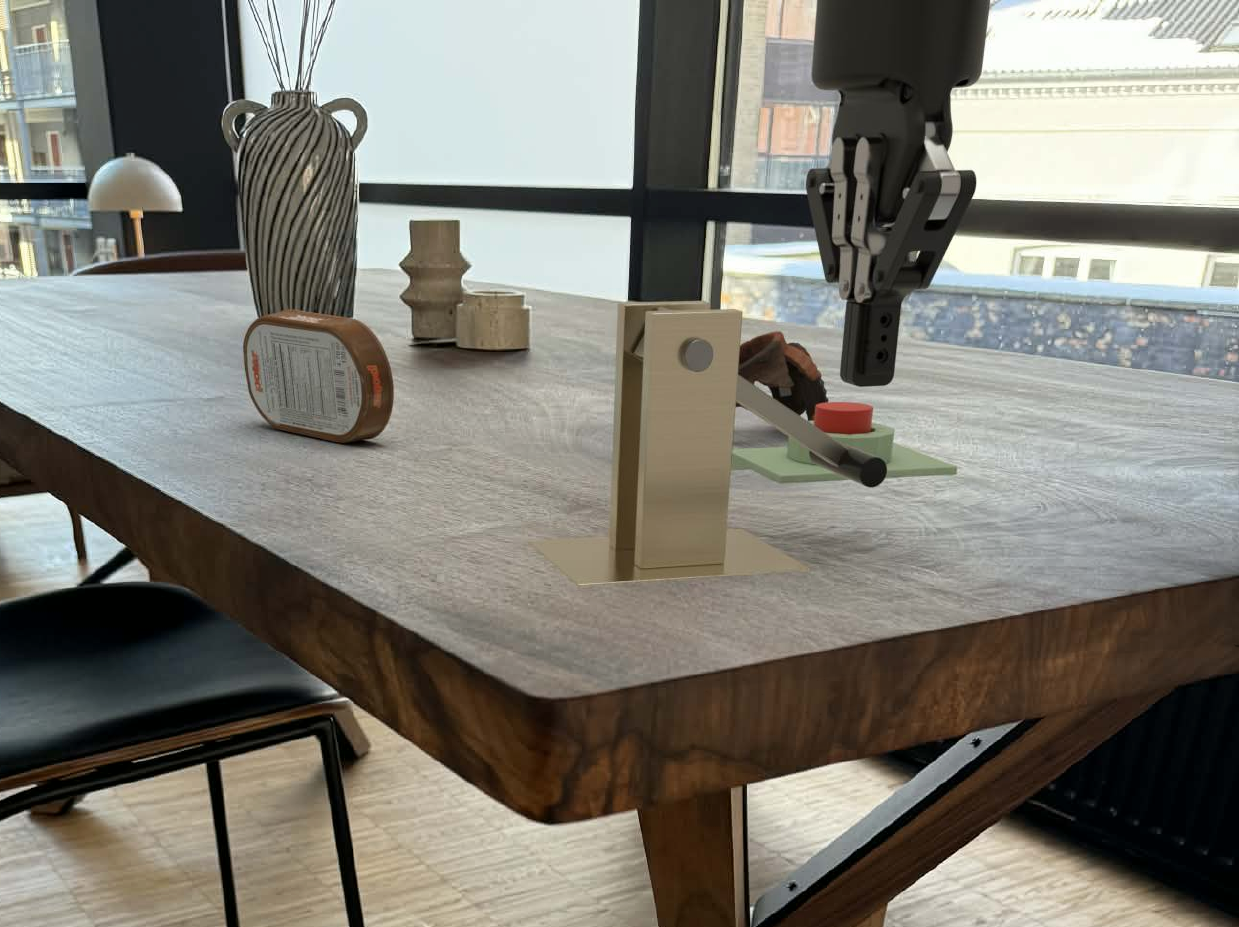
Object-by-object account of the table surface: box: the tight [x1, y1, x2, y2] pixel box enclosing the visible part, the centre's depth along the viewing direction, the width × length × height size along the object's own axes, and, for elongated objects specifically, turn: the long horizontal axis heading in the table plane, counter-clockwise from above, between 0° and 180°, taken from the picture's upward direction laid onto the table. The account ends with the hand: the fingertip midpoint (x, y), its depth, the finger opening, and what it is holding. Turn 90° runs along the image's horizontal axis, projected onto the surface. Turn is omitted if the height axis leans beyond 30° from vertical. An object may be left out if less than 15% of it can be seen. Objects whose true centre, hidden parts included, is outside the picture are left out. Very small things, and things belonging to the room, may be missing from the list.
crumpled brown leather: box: [736, 330, 830, 421], centre depth 113 cm, size 12×10×8 cm
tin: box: [242, 308, 395, 444], centre depth 111 cm, size 15×3×8 cm, turn 44°
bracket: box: [527, 300, 813, 587], centre depth 74 cm, size 12×9×13 cm
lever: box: [634, 307, 887, 489], centre depth 74 cm, size 13×6×2 cm
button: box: [814, 401, 874, 434], centre depth 96 cm, size 4×4×2 cm
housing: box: [731, 420, 958, 484], centre depth 97 cm, size 12×9×4 cm
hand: (865, 383), depth 75 cm, fingers closed
